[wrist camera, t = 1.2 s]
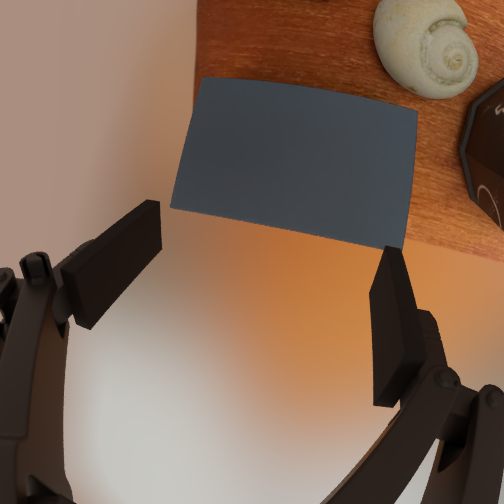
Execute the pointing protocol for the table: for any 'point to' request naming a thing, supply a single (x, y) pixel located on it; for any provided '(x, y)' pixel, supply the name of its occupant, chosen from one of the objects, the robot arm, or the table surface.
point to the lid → (299, 160)
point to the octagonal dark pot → (485, 152)
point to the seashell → (425, 46)
